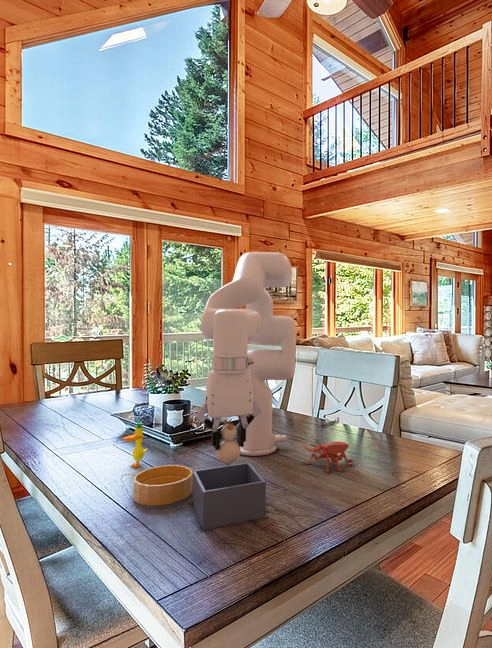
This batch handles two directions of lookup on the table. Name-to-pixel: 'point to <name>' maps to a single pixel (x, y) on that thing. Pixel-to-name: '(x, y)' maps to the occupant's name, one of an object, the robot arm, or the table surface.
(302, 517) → the table surface
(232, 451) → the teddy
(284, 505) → the table surface
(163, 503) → the bowl
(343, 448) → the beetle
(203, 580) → the table surface
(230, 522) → the bin
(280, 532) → the table surface
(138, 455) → the toy figure
